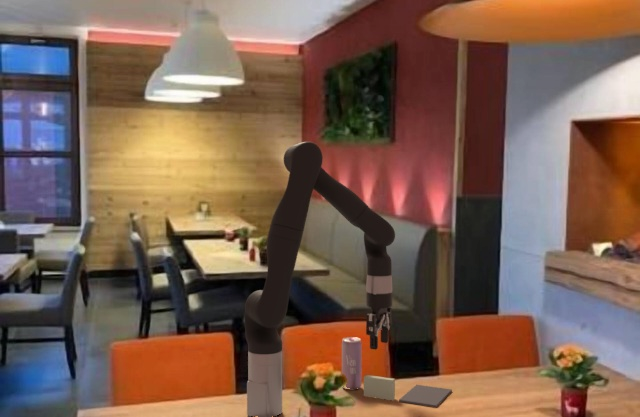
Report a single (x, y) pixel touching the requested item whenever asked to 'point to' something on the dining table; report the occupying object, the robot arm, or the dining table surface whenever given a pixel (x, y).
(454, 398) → the dining table surface
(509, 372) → the dining table surface
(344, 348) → the beverage can
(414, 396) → the mat
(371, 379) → the board
